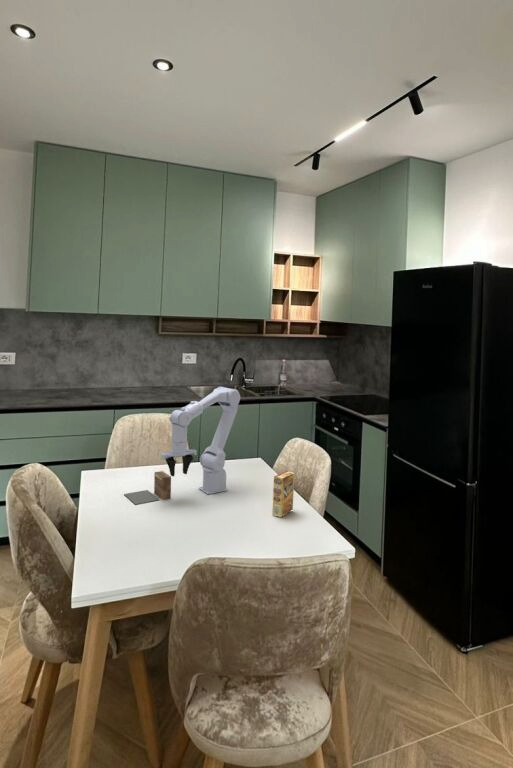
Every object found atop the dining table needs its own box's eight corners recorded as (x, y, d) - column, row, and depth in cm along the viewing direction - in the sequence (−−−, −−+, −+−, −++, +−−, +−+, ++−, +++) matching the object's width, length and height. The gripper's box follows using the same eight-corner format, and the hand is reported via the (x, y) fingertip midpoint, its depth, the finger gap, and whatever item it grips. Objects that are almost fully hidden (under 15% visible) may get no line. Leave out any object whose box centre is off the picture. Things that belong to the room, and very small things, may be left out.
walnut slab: (162, 491, 198) (162, 470, 196) (170, 498, 191) (171, 476, 190) (154, 493, 196) (154, 472, 194) (162, 499, 189) (162, 478, 188)
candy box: (281, 518, 177) (283, 478, 175) (271, 515, 179) (273, 475, 177) (293, 511, 184) (295, 472, 182) (283, 508, 186) (285, 470, 184)
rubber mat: (147, 490, 198) (147, 489, 198) (159, 500, 188) (159, 499, 188) (123, 495, 192) (123, 494, 192) (135, 505, 183) (135, 504, 182)
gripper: (191, 436, 194) (190, 469, 196) (157, 440, 186) (157, 474, 187) (199, 440, 188) (198, 473, 190) (165, 444, 180) (165, 479, 182)
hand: (178, 474), depth 188 cm, fingers open, 5 cm apart
